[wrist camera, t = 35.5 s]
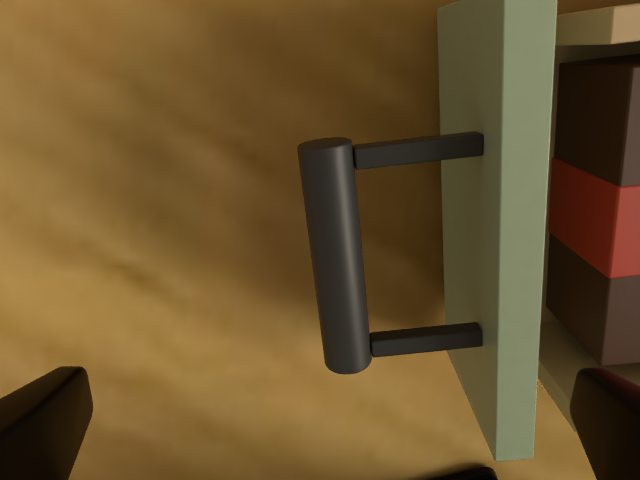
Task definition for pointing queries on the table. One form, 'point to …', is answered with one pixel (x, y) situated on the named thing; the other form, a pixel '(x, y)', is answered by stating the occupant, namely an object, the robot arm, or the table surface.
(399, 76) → the table surface
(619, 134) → the chocolate bar
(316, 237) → the drawer
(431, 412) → the table surface
